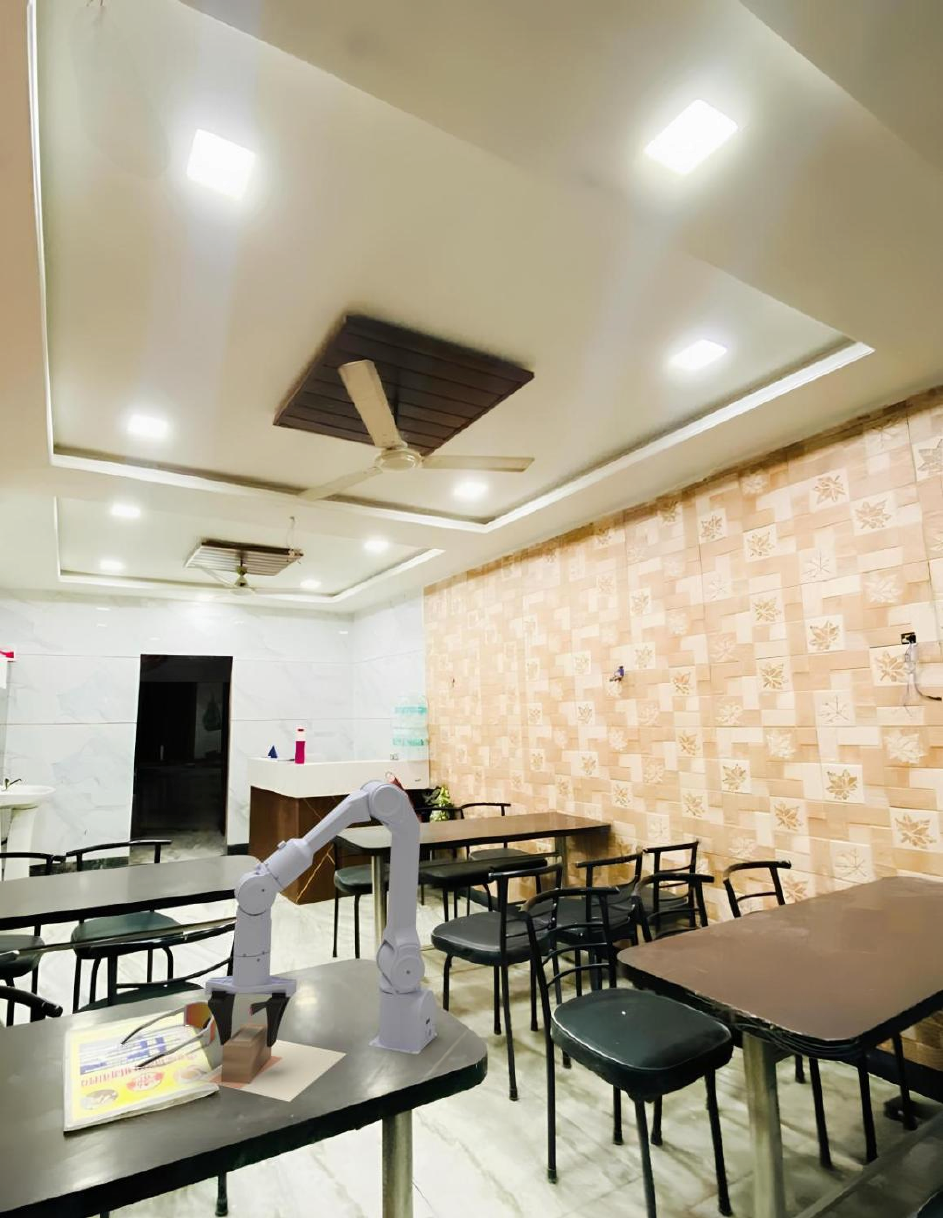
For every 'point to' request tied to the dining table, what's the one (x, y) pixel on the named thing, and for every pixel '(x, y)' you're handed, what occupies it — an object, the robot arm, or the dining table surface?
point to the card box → (245, 1053)
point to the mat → (284, 1071)
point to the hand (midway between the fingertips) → (248, 1043)
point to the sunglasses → (193, 1016)
